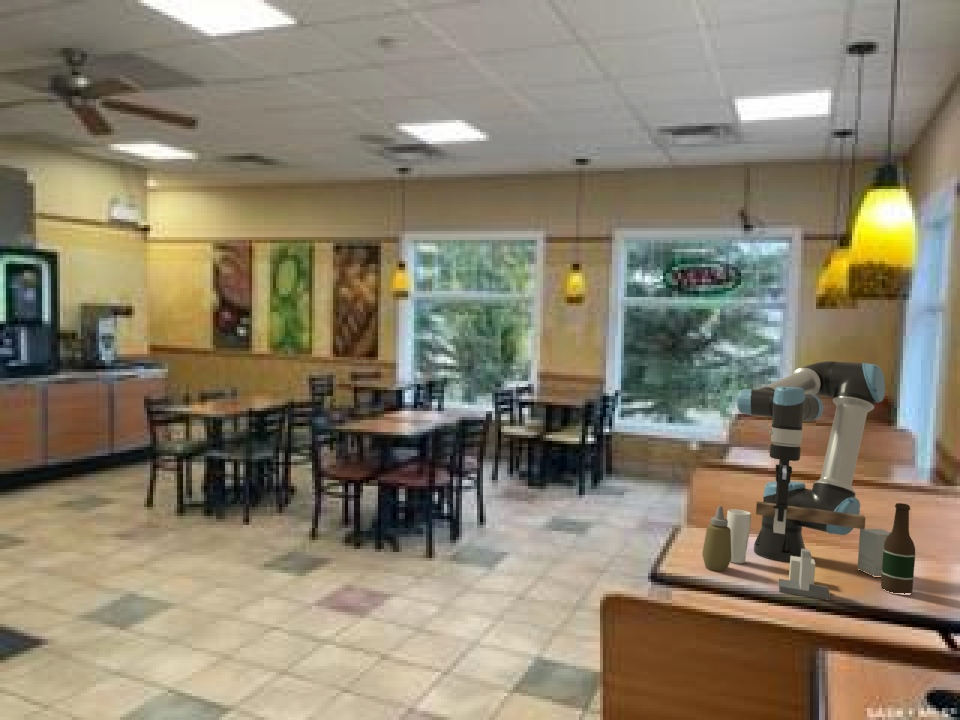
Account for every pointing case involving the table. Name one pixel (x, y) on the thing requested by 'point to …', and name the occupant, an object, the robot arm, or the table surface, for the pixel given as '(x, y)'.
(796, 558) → the block
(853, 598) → the table surface
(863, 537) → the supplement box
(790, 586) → the ridge stand
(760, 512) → the walnut bar
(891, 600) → the table surface
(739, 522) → the drinking glass
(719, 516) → the squeeze bottle
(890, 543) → the beer bottle
